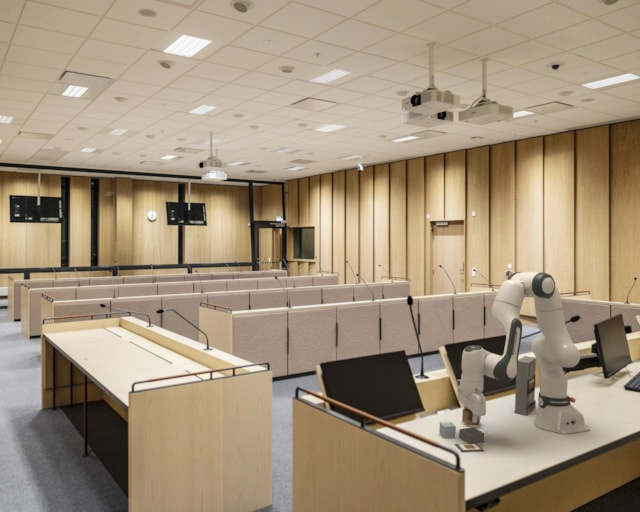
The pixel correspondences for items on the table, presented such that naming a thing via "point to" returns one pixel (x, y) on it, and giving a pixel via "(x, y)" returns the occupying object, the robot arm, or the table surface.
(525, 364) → the grey box
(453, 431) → the slate-blue block
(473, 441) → the charcoal base block
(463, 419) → the walnut block
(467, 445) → the card
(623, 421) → the table surface
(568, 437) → the table surface
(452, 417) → the table surface
